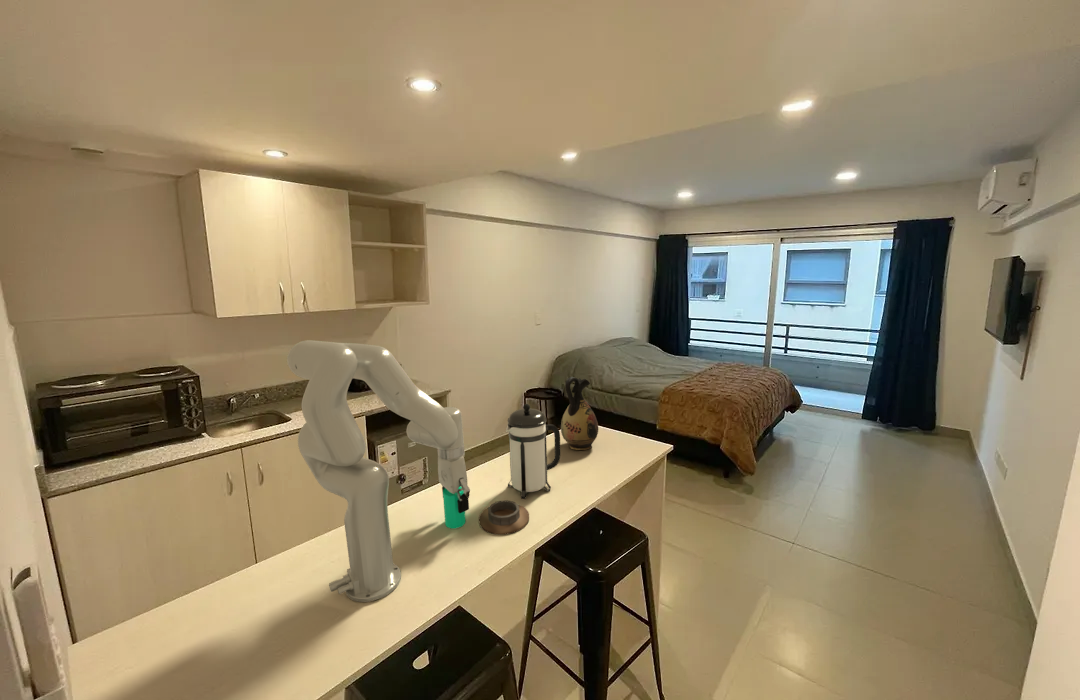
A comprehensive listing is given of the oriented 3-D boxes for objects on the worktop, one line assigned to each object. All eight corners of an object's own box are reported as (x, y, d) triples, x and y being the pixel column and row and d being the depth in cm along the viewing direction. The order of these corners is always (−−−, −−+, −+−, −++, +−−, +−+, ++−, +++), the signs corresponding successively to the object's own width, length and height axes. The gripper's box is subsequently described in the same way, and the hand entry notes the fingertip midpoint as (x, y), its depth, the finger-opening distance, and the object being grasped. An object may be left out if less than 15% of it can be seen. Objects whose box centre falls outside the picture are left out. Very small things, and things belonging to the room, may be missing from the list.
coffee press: (546, 503, 138) (544, 413, 132) (500, 496, 143) (496, 409, 137) (561, 478, 154) (560, 397, 148) (519, 472, 159) (516, 393, 154)
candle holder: (496, 541, 120) (495, 530, 119) (469, 517, 131) (469, 507, 131) (539, 521, 129) (539, 510, 128) (510, 500, 140) (510, 490, 140)
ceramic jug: (579, 435, 192) (578, 369, 186) (605, 446, 180) (606, 376, 174) (550, 446, 181) (549, 377, 175) (576, 458, 169) (576, 384, 164)
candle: (441, 523, 129) (438, 486, 127) (457, 514, 133) (455, 478, 131) (453, 531, 125) (450, 492, 123) (469, 522, 129) (467, 484, 127)
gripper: (426, 444, 129) (431, 496, 133) (453, 465, 116) (458, 522, 120) (449, 437, 134) (453, 488, 137) (477, 456, 120) (481, 511, 124)
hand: (455, 503), depth 129 cm, fingers open, 9 cm apart
